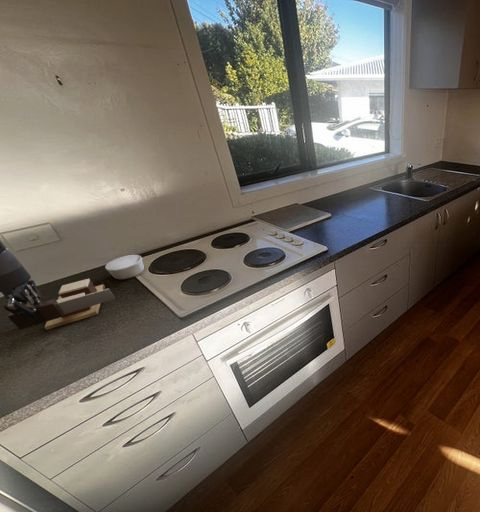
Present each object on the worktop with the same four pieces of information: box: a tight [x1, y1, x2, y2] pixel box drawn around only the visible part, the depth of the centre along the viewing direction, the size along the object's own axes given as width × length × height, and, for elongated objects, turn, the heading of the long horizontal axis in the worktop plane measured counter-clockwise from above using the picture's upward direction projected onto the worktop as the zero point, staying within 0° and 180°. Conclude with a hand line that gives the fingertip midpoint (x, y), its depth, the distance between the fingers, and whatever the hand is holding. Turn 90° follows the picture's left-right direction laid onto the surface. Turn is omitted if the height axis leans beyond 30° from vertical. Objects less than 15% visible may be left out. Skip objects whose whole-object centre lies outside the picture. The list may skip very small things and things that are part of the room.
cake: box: [58, 278, 97, 298], centre depth 98 cm, size 7×5×5 cm
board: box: [44, 284, 106, 331], centre depth 97 cm, size 12×18×1 cm, turn 34°
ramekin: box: [104, 254, 145, 280], centre depth 113 cm, size 11×11×5 cm
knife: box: [7, 288, 116, 331], centre depth 85 cm, size 21×3×5 cm, turn 124°
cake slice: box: [55, 293, 92, 318], centre depth 92 cm, size 7×3×5 cm, turn 124°
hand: (41, 319), depth 83 cm, fingers closed on knife, 2 cm apart
